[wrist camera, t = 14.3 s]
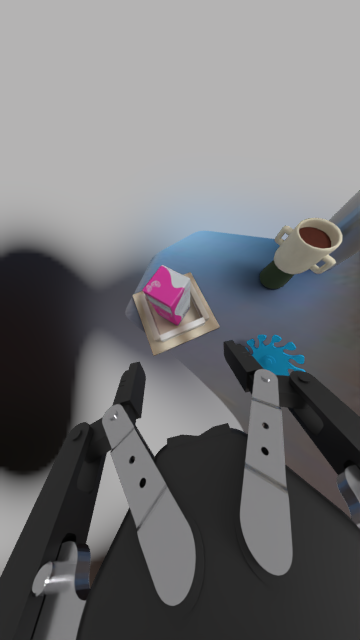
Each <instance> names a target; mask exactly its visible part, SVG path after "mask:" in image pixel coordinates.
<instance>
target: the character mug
mask: <svg viewBox="0 0 360 640" xmlns="http://www.w3.org/2000/svg"><path fill="white" fill-rule="evenodd" d="M284 233H286V234H287V235H289V236H288V237H287V238H286V240H285V241H284V240H283V239H281V237H282V236H283V235H284ZM342 236H343V235H342V233H341V231H340V229H339V228H338V227H337V226H336V225H335V224H334V223H332V222H330V221H328V220H325V219H320V218H309V219H305V220H303V221H301V222H300V223H299V224H298V225H297V226H296V228H295V229H294V230H293V229H292V228H290V227H289V226H284V227H283V228H282V229H281V231H280V232H279V233H278V235H277V236H276V238H275V242H276V243H277V244H279V245H280V247H279V248H278V249H277V251H276V253H275V256H274V260H273V261H272V262H271V263H270V264H268V265H267V266H266V267H265V268H264V269H263V270H262V271H261V273H260V281H261V283H262V284H263V285H264V286H265V287H268V288H270V289H278V288H281V287H283V286H284V285H285V284H286V283H287V282H288V281H289V280H290V279H291V278H292V277H293V276H294V274H299V273H302V272H304V271H306V270H308V269H310V270H312V271H313V272H314V273H316V274H320V273H322V272H324V271H326V270H327V269H329V268H330V267H332V266H333V265H334V264H335V263H336V261H335V259H333V258H332V257H331V256H329V254H330V253H331V252H333V251H334V250H335V249H336V248H338V247H339V245H340V244H341V242H342ZM321 260H322V261H324V262H325V263H326V264H324V265H323V266H321V267H320V268H319V267H318V266H317V265H315V264H316V263H318V262H319V261H321Z"/></svg>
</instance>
